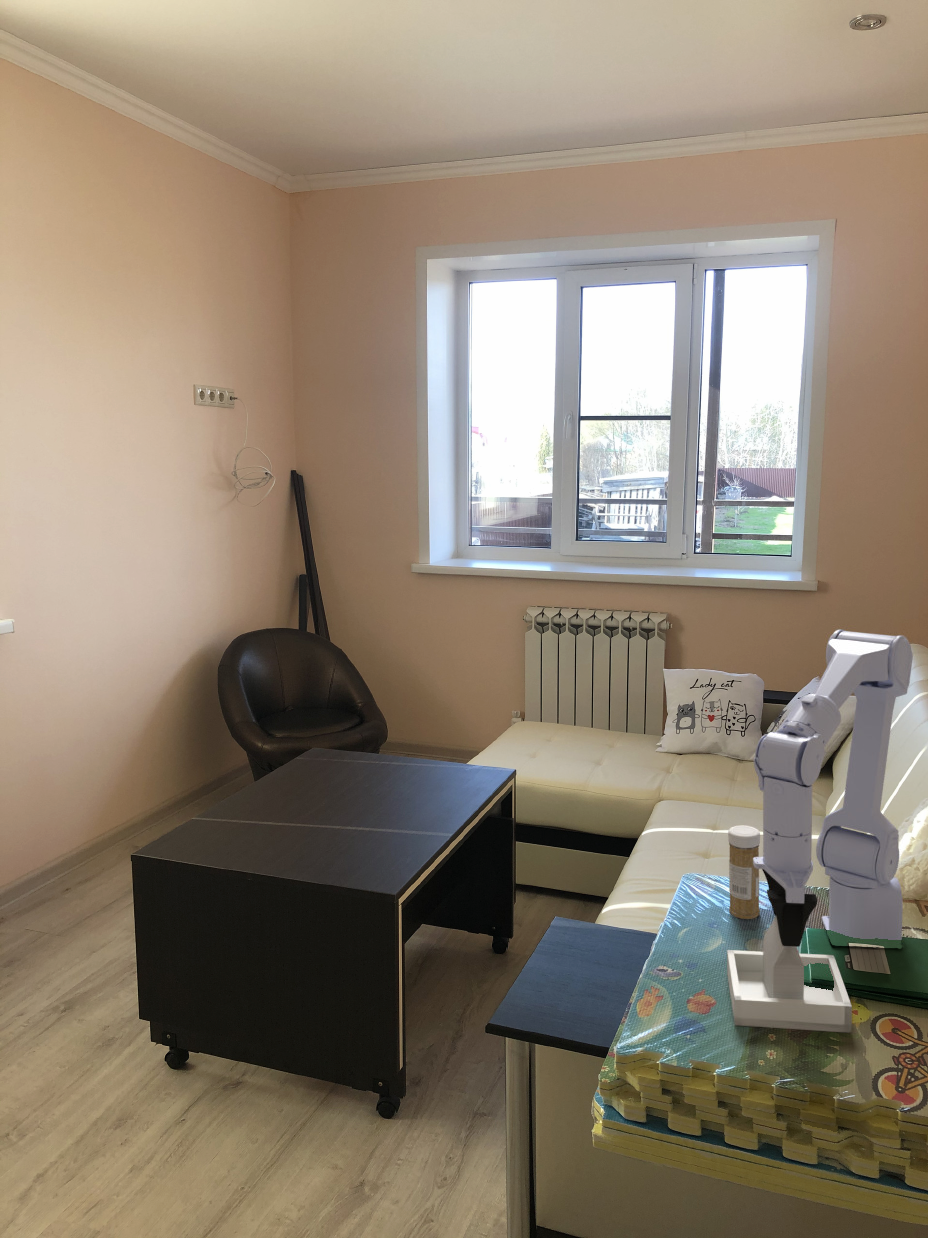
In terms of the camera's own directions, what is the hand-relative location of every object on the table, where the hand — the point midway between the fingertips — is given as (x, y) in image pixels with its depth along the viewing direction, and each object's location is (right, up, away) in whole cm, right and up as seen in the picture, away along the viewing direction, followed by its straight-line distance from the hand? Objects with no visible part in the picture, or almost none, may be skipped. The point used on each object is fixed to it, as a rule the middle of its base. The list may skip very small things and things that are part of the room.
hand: (786, 929), depth 119 cm
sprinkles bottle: (+2, -6, +25) cm, 25 cm away
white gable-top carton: (0, -9, +2) cm, 9 cm away
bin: (+1, -10, +2) cm, 10 cm away
